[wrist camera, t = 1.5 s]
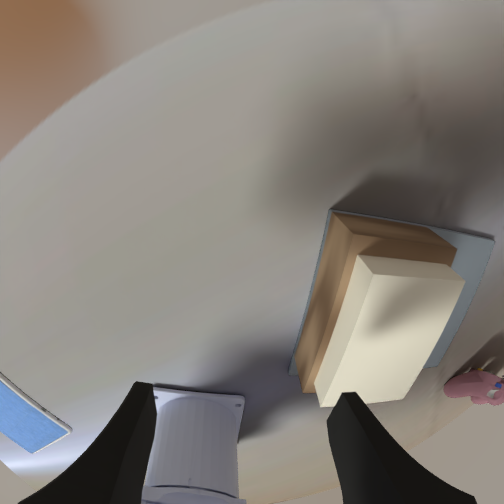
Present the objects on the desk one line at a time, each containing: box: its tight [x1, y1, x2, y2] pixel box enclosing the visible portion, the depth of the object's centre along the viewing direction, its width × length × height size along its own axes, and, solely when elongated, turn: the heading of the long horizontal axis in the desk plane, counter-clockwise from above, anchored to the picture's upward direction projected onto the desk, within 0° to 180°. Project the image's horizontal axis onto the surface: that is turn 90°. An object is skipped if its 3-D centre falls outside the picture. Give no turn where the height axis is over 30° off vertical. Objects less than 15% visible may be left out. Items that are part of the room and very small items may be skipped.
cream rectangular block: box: [314, 255, 465, 407], centre depth 15 cm, size 9×6×2 cm, turn 173°
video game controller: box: [444, 368, 504, 406], centre depth 24 cm, size 10×5×7 cm, turn 60°
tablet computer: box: [0, 373, 72, 454], centre depth 26 cm, size 19×13×1 cm, turn 131°
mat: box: [288, 209, 495, 376], centre depth 21 cm, size 13×15×1 cm
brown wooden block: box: [294, 212, 457, 393], centre depth 18 cm, size 11×7×4 cm, turn 173°
